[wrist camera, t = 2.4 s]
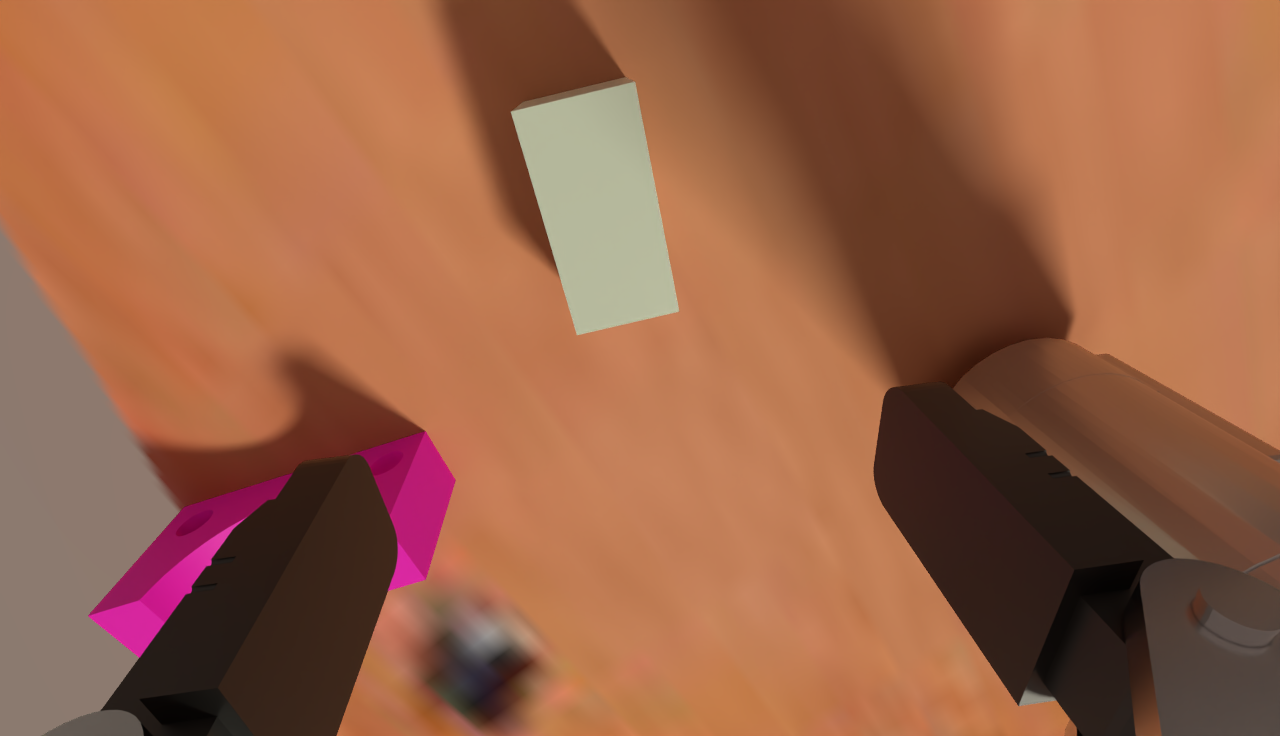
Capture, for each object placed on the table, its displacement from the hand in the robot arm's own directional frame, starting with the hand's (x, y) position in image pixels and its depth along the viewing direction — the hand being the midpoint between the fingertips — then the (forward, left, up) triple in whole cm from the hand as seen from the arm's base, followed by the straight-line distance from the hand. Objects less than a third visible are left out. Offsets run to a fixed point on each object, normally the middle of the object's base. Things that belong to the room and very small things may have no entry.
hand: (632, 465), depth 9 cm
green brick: (0, 0, -20) cm, 20 cm away
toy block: (+18, +16, -20) cm, 32 cm away
